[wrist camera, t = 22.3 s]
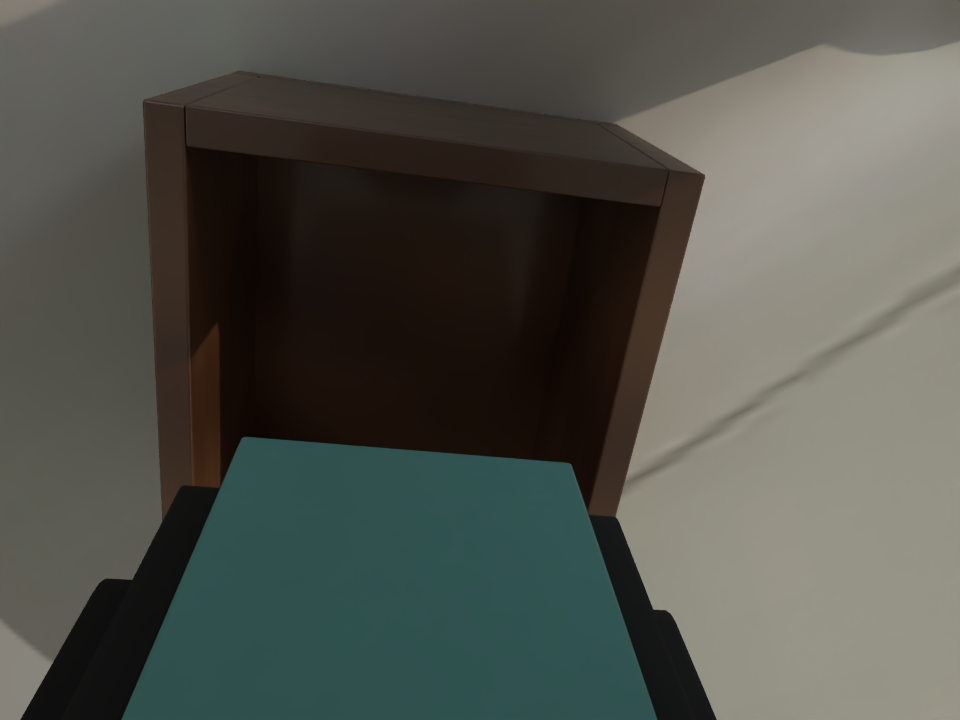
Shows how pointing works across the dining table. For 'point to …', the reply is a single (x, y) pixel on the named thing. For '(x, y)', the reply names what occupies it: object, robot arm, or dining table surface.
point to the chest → (404, 276)
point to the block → (392, 595)
